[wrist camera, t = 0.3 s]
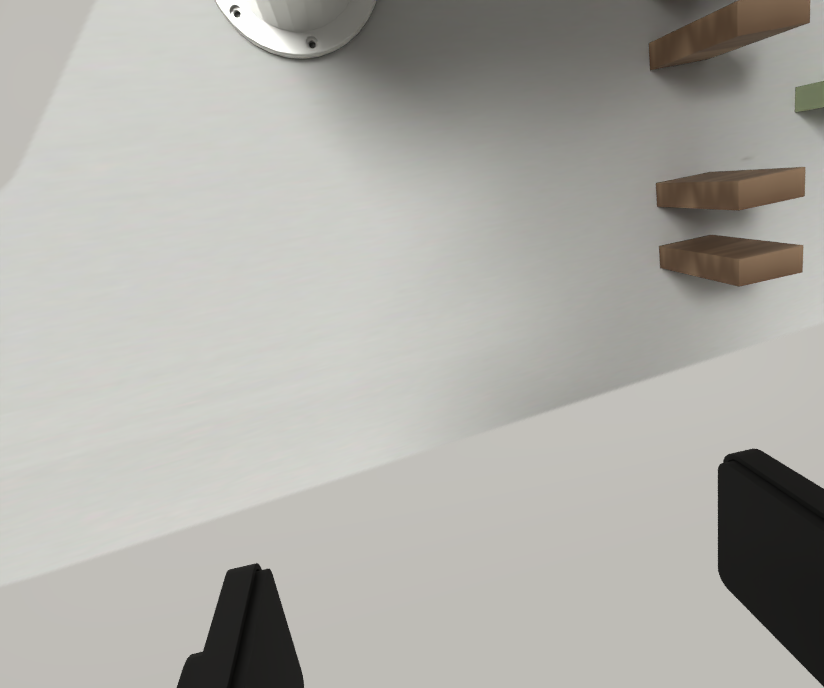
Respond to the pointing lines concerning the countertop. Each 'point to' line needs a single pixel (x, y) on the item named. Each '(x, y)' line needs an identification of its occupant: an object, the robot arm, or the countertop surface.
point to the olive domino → (809, 97)
